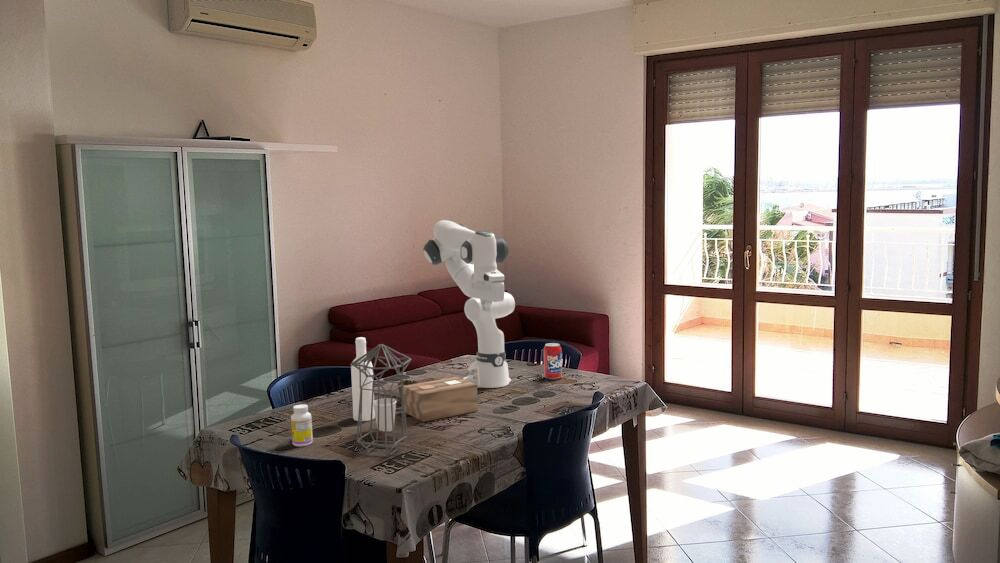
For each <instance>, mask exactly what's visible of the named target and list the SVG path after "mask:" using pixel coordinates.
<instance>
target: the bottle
mask: <svg viewBox="0 0 1000 563" xmlns="http://www.w3.org/2000/svg"><path fill="white" fill-rule="evenodd" d="M354 343H355V353H356V357H355V358H354V359H353V360H352V362H354V361H356V360H357V359H359V358H360V357H362V356H363V355H365V354H366V353H367V340H366V337H363V336H360V337H359V336H358V337H356V338H355V341H354ZM365 357H366V356H365ZM365 357H364V358H365ZM364 358H363V359H364ZM363 359H361V360H363ZM361 360H360V361H361ZM360 361H358V362H360ZM367 361H368V360H367ZM367 361H366V362H365V365H366V364H367ZM360 365H364V361H363V362H362V363H361V364H360ZM373 366H374V364H373V362H372V360H371V361H370V363H369V364H368V367H373ZM358 367H359V366H358ZM360 369H363V367H361V366H360ZM367 370H368V372H369V373H370V374H371V375H373V371H372V369H370V368H367ZM367 370H366V374H368V375H369V373H368V372H367ZM350 371H351V372H350V373H351V392H352V393H351V398H352V418H353V419H352V420H354V421H356V422H358V413H359V400H360V374H359V369H357V368H356V367H354V366H351V365H350ZM364 372H365V370H364ZM365 379H366V376H365V374H364V373H362V372H361V386H362V385H363V383H364V381H365ZM373 379H374V378H373ZM373 379H372V378H371V377H367V379H366V381H365V383H364V384H366V383H368V382H370V381H372V382H373V381H374V380H373ZM372 382H371V383H369V384H367V385H365V386H363V387H362V388H364V389H372ZM373 401H375V394H374V395H373ZM371 402H372V390H362V422H369V421H371ZM374 419H376V417H375V412H374V406H373V414H372V420H374Z"/></svg>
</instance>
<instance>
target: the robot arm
mask: <svg viewBox="0 0 1000 563" xmlns="http://www.w3.org/2000/svg"><path fill="white" fill-rule="evenodd" d="M432 233H433V238H431V239H428V241H427V242H426V243H425V244H424V246H423V249H422V250H423V254H424V258H425V259H426V261H427V262H429V263H430V264H432V265H433V266H437V265H440V264H443V262H445V267H446V270H447V271H448V272H447V273H449V275H450V277H451V278H452V280H453V281H454V282H455V284H456V285H457V286H458V288H459V289H460V290H461V292H462V293H463V294H464V295H465V296H467V297H468V298H469V299H467V300H466V301H465V303H464V308H463V311H464V314H465V317H466V318H467V319H468V320H469V321H471V322H472V324H473V326H474V327H475V331H476V335H477V347H478V348H477V350H478V351H476V352H475V355H476V358H475V361H474V362H473V363H472V364H470V366H469V367H468V369H467V376H465V377H463V378H462V379H463V380H466V381H468V382H471V383H474V384H476V385H477V389H478V388H484V389H494V388H501V387H502V388H503V387H506V386H508V385H510V382H512V379H511V378H510V376H509V374H510V373H509V366H508V363H507V361H506V359H507V358H506V355H507V354H506V350H505V335H504V331H502V330H501V329H499V328H498V325H497V322H496V319H500V318H504V317H507V316H508V315H510V314H512V313H513V312H514V311H515V308H516V301H515V298H514V296H513V295H512V294H511V293H509V292H506V291H505V283H504V281H505V275H504V274H503V273H502V272H501V271H499V270H500V269H499V270H498V264H503V262H504V261H505V260H506V259H507V258H508V256H509V252H510V250H509V249H510V248H509V245H508V243H507V242H506V240H504V239H503V238H502V237H496V236H495V233H494V232H492V231H489V230H478V231H475V230H472V229H469V228H468V227H466V226H465V225H464V224H462V223H460V224H459V223H456V222H455V221H451V220H449V219H448V220H446V219H443V220H438V221H437V222H436V223H435V224H434V226H433V229H432Z"/></svg>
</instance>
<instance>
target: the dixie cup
mask: <svg viewBox="0 0 1000 563" xmlns="http://www.w3.org/2000/svg"><path fill="white" fill-rule="evenodd" d="M397 402H398V401H397V399H395V398H392V404H393V420H394V423H395V420H396V408H397ZM373 406H374V412H375V421H376V428H377V430H378V399H374V401H373ZM386 419H387V431H391V432H392V416H391V400H390V397H386ZM379 430H381V431H385V404H384V398H379Z"/></svg>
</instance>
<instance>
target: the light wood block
mask: <svg viewBox="0 0 1000 563" xmlns="http://www.w3.org/2000/svg"><path fill="white" fill-rule="evenodd" d="M453 380H456V381H459V382H461V383H462V384H457V385H451V386H449V385H447V384H444V382H447V381H453ZM424 385H432V386H434V387H436V388H434V389H428V390H421V389H419V388H418V386H424ZM403 390H404V403H405V414H407V415H409V416H411V417H413V418H415V419H417V420H419V421H420V422H423V423H424V422H429V421H433V420H439V419H443V418H444V419H445V418H450V417H455V416H459V415H463V414H464V415H465V414H469V413H474V412H479V407H478V406H479V404H478V402H479V401H478V399H479V398H478V388H477V385H476V384H474V383H471V382H468V381H466V380H463V378H460V377H458V376H452V377H448V378H441V379H436V380H430V381H429V380H428V381H424V382H417V384H411V385H405V386H403Z"/></svg>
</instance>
